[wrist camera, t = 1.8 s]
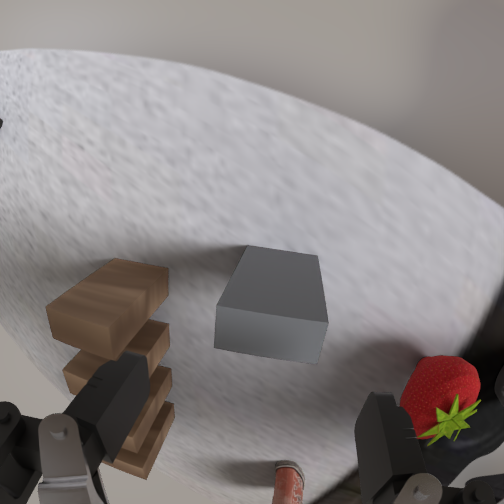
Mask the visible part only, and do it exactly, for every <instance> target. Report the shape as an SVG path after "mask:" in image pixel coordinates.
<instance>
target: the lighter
mask: <svg viewBox="0 0 504 504" xmlns="http://www.w3.org/2000/svg"><path fill="white" fill-rule="evenodd" d="M275 476H276V481H275V488H274V496H273V500H272V504H302V497H303V490H304V487H305V477H304V473H303V471H302V469H301V468H300V466H299V465H298V464H297V463H296V462H294V461H289V460H285V461H280V462H278V463H276V467H275Z"/></svg>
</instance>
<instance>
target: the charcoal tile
mask: <svg viewBox="0 0 504 504" xmlns="http://www.w3.org/2000/svg"><path fill="white" fill-rule="evenodd" d="M328 323H329V322H328V316H327V309H326V302H325V296H324V290H323V284H322V277H321V272H320V266H319V260H318V256H316V255H309V254H303V253H296V252H289V251H283V250H276V249H269V248H263V247H256V246H249V245H248V246H247V248H246V250H245V252H244V254H243V255H242V257H241V259H240V261H239V263H238V265H237V267H236V269H235V271H234V273H233V275H232V277H231V279H230V280H229V282H228V284H227V286H226V288H225V290H224V292H223V294H222V296H221V298H220V300H219V302H218V304H217V306H216V322H215V339H214V348H217V349H222V350H227V351H233V352H238V353H244V354H249V355H255V356H261V357H267V358H274V359H280V360H287V361H295V362H302V363H310V364H317V362H318V359H319V355H320V352H321V349H322V345H323V341H324V338H325V334H326V331H327V327H328Z"/></svg>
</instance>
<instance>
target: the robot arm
mask: <svg viewBox="0 0 504 504" xmlns="http://www.w3.org/2000/svg"><path fill="white" fill-rule="evenodd" d="M494 389H495V394H496V395H497V397H498V399H499V401H500V402H501V404H502V406H503V408H504V365H503V367H502V368H501V370H500V372H499V374H498V376H497V379H496V382H495V388H494ZM149 393H150V378H149V370H148V362H147V357H146V356H145V355H141V354H138V353H134V352H131V351H125V352H124V353H123V354H122V355H121V356H120V358H119V359H118V360H117V361H114V360H110V361H108V362H106V363H105V364H103V365H101V366H100V367H99V368H98V369H97V370H96V372H95V373H94V374H93V375H92V378H90V379H89V380H88V382H87V384H86V385H84V387H83V388H82V389H81V391H80V392H79V393H78V394H77V396H76V397H75V398H74V399H73V401H72V402H71V403H70V405H69V406H68V407H67V409H66V410H65V411H64V412H63V413H55V414H51V415H49V416H47V417H45V418H44V419H38V418H33V417H29V416H24V415H21V413H20V411H19V409H18V408H17V407H16V406H15V405H14V404H12V403H10V402H6V401H5V402H0V467H1V468H0V504H26V503H27V501H28V499H29V497H30V496H31V494H32V492H33V490H34V488H35V486H36V485H37V483H38V481H39V479H40V478H41V476H42V474H43V482H42V483H39V484H38V495H39V501H40V504H110V503H109V500H108V497H107V494H106V491H105V488H104V484H103V481H102V478H101V474H100V470H99V465H100V463H101V462H102V460H104V461H106V462H109V463H111V464H113V462H114V460H115V458H116V456H117V455H118V453H119V451H120V449H121V447H122V445H123V443H124V442H125V440H126V438H127V436H128V434H129V432H130V431H131V429H132V427H133V425H134V423H135V421H136V420H137V418H138V416H139V414H140V412H141V410H142V409H143V407H144V405H145V403H146V401H147V399H148V397H149ZM416 438H417V436H416V432H415V430H414V426H413V423H412V419H411V416H410V415H409V414H408V413H407V411H406V410H405V409H404V408H403V407H397V406H396V402H395V399H394V396H393V394H392V393H385V392H371V393H370V394H369V396H368V398H367V400H366V402H365V404H364V406H363V408H362V410H361V412H360V414H359V416H358V418H357V420H356V424H355V441H356V449H357V457H358V466H359V475H360V485H361V496H362V504H496V501H495V497H494V493H493V490H492V488H491V487H490V486H489V485H488V484H487V483H486V482H484V481H480V480H476V481H472V482H470V483H469V484H468V485H466V486H465V487H464V488H454V487H445V486H441V483H440V482H439V480H438V479H437V478H435V477H434V476H432V475H430V474H428V473H427V471H426V467H425V463H424V460H423V456H422V453H421V449H420V446H419V442H418V439H416Z"/></svg>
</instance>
